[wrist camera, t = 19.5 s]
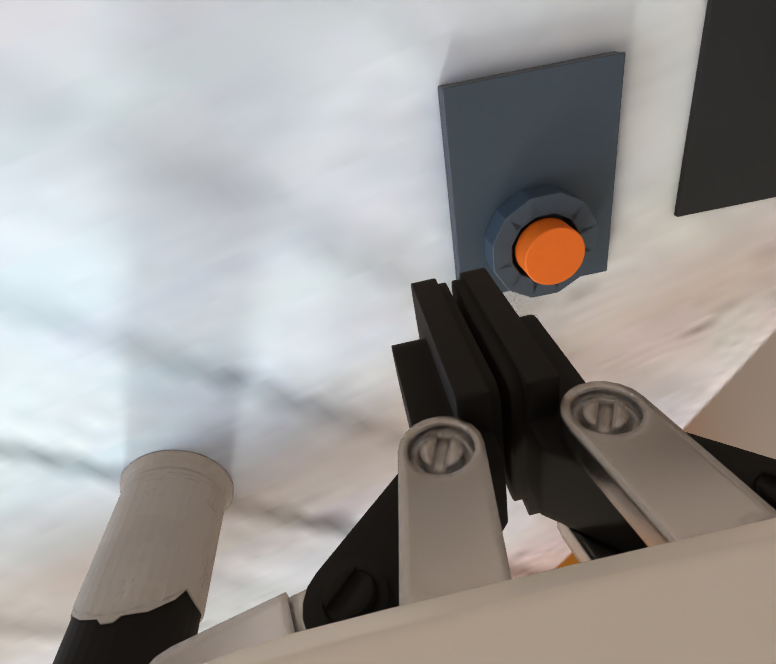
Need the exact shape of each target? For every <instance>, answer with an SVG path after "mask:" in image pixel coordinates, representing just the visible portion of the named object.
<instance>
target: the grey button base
mask: <svg viewBox="0 0 776 664" xmlns="http://www.w3.org/2000/svg"><path fill="white" fill-rule="evenodd" d="M624 63H625V52H616V51H613V52H608V53H603V54H598V55H593V56H588V57H583V58H578V59H573V60H568V61H563V62H558V63H552V64H547V65H542V66H537V67H532V68H527V69H522V70H517V71H512V72H507V73H502V74H497V75H492V76H487V77H482V78H477V79H472V80H466V81H461V82H456V83H451V84H446V85H441V86H438V96H439V106H440V116H441V126H442V136H443V147H444V157H445V167H446V177H447V188H448V198H449V208H450V218H451V228H452V239H453V249H454V259H455V269H456V280H459V274H460V273H461V272H466V271H470V270H475V269H479V268H485V269H486V270H487V272H488V273H489V274H490V276H491V277H492V279H493V280H494V282H495V283H496V284H497V286H498V287H499V289H500V290H501V292H506V291H512V292H516V293H519V294H522V295H525V296H529V297H537V296H542V295H546V294H551V293H556V292H559V291H560V290H562V289H563V288H565V287H566V286H567V285H569V284H570V283H572V282H573V281H574V280H576V279H577V278H579V277H580V276H584V275H589V274H594V273H599V272H603V271H606V270H607V260H608V249H609V237H610V225H611V214H612V202H613V191H614V179H615V167H616V156H617V144H618V133H619V121H620V109H621V98H622V86H623V75H624ZM543 218H557V219H560V220H562V221H564V222H565V223H567V224H568V225H569V226H570V227H572V228H573V229H574V230H576V231H577V232H578V233H579V234H580V235H581V236H582V238H583V240H584V243H585V256H584V259H583V262H582V264H581V266H580V267H579V269H578V270H577V271H576V272H575V273H574V274H573V275H572V276H571V277H570V278H568V279H567V280H565V281H563V282H560V283H558V284H553V285H543V284H539V283H537V282H535V281H533V280H532V279H531V278H530V277H529V276H528V275H527V273H526V272H525V271H524V270H523V269H522V268H521V266H520V265H519V264H518V262H517V260H516V255H515V248H516V244H517V241H518V238H519V237H520V235H521V233H522V232H523V231H524V230H525V229H526V228H527V227H528V226H529V225H530V224H532V223H533V222H535V221H537V220H540V219H543Z"/></svg>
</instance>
